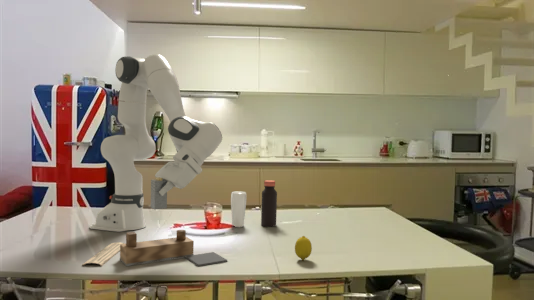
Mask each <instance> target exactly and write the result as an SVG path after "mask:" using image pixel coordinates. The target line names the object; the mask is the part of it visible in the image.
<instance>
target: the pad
mask: <svg viewBox="0 0 534 300" xmlns="http://www.w3.org/2000/svg"><path fill="white" fill-rule="evenodd" d="M185 258H186V259H187V260H188V261H189V262H191V263H192V264H194V265H196V266H197V267H205V266H210V265H215V264H222V263H227V262H228V259H226V258H225V257H223V256H221V255H219V254H218V253H217V252H213V251H211V252H205V253H198V254H194V255H190V256H186V257H185Z"/></svg>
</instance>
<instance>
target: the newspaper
mask: <svg viewBox="0 0 534 300" xmlns="http://www.w3.org/2000/svg"><path fill="white" fill-rule="evenodd" d="M120 244H126V243H124V242H120V241H119V242H117V241H116V242H112V243H109V244H108V245H107V246H105V247H104V248H102V249H101V250H100V251H98V252H97V253H96V254H95V255H93V256H92V257H90V258H88V260H86V261H85V262H84V263H82V264H81V267H82V266H86V265H88V264H97V265H100V267H103V266H105V264H107V262H109V261H110V260H111V259H113V257H115V256H116V255H117V254H119V253H120Z"/></svg>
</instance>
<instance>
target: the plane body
mask: <svg viewBox="0 0 534 300" xmlns="http://www.w3.org/2000/svg"><path fill="white" fill-rule="evenodd" d="M186 233H187V231H186V229H177V230H176V237H170V238H169V237H168V238H163V239H153V240H146V241H145V240H144V241H137V237H138V236H137V233H136V232H135V231H130V232H128V231H127V232H126V233H125V235H126V237H125V242H126V243H125V244H120V252H119V260H120V261H121V262H122V264H123V265H124V266H126V267H129V266H136V265H143V264H149V263H157V262H163V261H170V260H176V259H183V258H186V256H190V255H195V254H194V247H195V246H194V241H195V240H192V239H190V238H189V237H188V236H186V235H187V234H186Z"/></svg>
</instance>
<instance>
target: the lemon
mask: <svg viewBox="0 0 534 300" xmlns="http://www.w3.org/2000/svg"><path fill="white" fill-rule="evenodd" d="M312 250H313V247H312V243H311V240H310V239H309V238H308V237H306V236H305V235H302V236H301V237H299V238H297V239H296V242H295V244H294V252H295V255H296V256H297V258H299V259H301V260H302V261H304V260H306V259H307V258H309V257H310V256H311V254H312Z"/></svg>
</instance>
